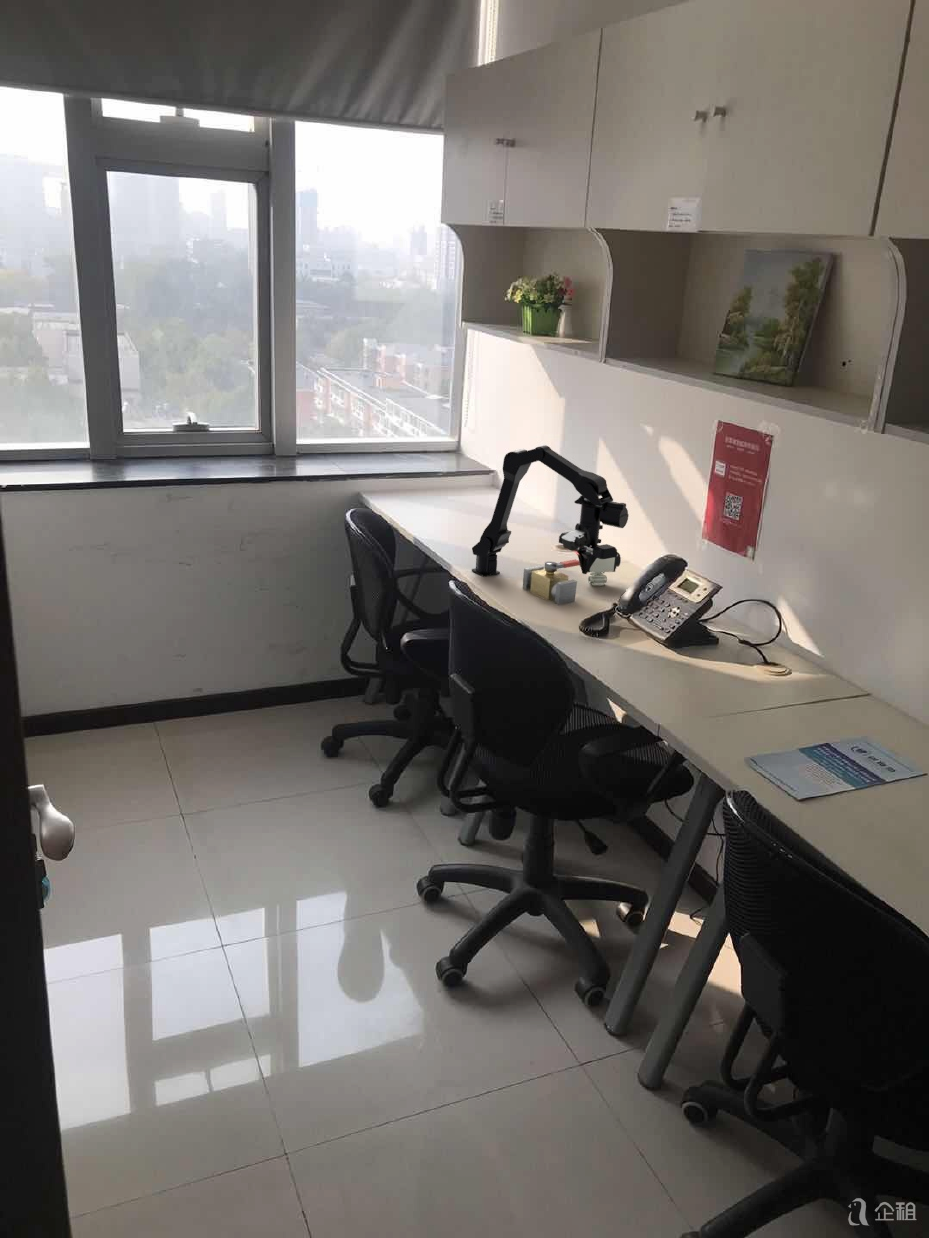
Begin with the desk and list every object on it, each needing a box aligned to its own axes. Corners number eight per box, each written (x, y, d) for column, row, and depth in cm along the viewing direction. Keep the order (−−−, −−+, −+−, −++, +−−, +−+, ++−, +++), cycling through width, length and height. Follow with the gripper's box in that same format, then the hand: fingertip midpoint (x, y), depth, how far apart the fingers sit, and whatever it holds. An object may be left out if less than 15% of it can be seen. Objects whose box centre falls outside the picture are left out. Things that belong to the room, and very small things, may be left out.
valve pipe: (521, 588, 288) (523, 564, 286) (539, 585, 292) (541, 561, 290) (557, 605, 276) (559, 580, 274) (575, 601, 280) (578, 577, 278)
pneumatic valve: (617, 586, 295) (622, 548, 291) (581, 587, 293) (585, 549, 288) (611, 580, 300) (615, 543, 296) (575, 581, 298) (578, 543, 293)
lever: (549, 572, 279) (550, 566, 279) (541, 569, 282) (542, 562, 281) (581, 567, 286) (582, 560, 285) (573, 563, 289) (573, 557, 288)
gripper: (546, 516, 278) (542, 568, 284) (591, 532, 264) (585, 587, 270) (576, 512, 285) (570, 563, 290) (621, 528, 271) (614, 581, 276)
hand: (584, 573), depth 281 cm, fingers closed
